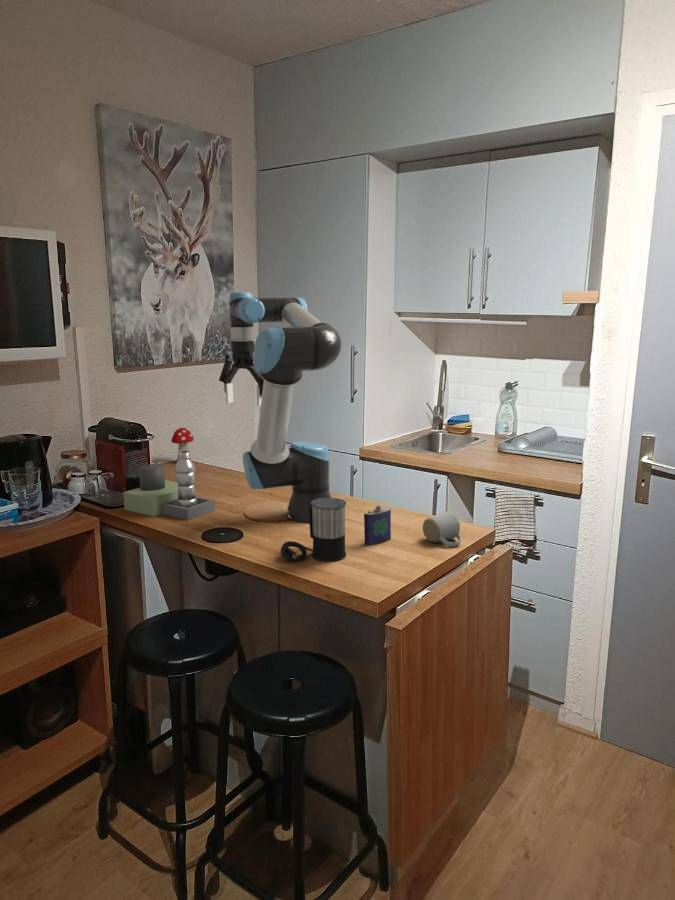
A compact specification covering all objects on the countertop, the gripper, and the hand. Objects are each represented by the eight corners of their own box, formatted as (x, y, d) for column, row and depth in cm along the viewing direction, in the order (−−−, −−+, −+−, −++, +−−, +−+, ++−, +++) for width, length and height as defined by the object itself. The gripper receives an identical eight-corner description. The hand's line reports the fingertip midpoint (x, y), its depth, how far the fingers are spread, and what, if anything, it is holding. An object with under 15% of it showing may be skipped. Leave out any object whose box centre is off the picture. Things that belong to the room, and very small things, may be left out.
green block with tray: (221, 507, 222) (219, 469, 219) (181, 522, 207) (178, 482, 204) (165, 496, 236) (163, 460, 233) (124, 509, 221) (121, 471, 218)
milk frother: (354, 555, 179) (353, 501, 176) (311, 572, 168) (310, 515, 164) (316, 543, 188) (315, 492, 185) (273, 558, 177) (272, 504, 174)
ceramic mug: (420, 539, 190) (420, 513, 189) (441, 533, 195) (442, 508, 193) (446, 550, 182) (447, 523, 180) (468, 544, 186) (469, 518, 184)
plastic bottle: (196, 508, 222) (192, 448, 217) (199, 513, 216) (195, 453, 211) (176, 510, 220) (172, 450, 215) (179, 516, 213) (174, 455, 209)
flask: (387, 536, 193) (387, 500, 190) (393, 539, 190) (394, 503, 188) (362, 543, 187) (362, 507, 185) (369, 546, 185) (368, 509, 183)
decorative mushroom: (184, 459, 293) (182, 425, 290) (199, 461, 289) (197, 426, 286) (168, 463, 285) (165, 429, 281) (183, 466, 280) (181, 430, 277)
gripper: (279, 340, 218) (281, 405, 223) (222, 338, 231) (225, 400, 236) (264, 341, 212) (267, 408, 216) (206, 340, 225) (210, 402, 230)
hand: (245, 404), depth 226 cm, fingers open, 13 cm apart
